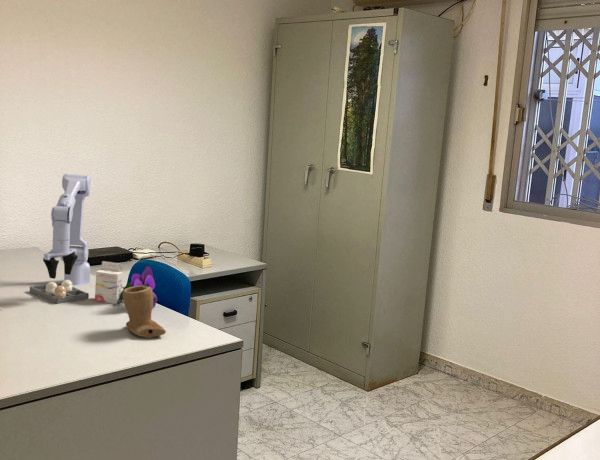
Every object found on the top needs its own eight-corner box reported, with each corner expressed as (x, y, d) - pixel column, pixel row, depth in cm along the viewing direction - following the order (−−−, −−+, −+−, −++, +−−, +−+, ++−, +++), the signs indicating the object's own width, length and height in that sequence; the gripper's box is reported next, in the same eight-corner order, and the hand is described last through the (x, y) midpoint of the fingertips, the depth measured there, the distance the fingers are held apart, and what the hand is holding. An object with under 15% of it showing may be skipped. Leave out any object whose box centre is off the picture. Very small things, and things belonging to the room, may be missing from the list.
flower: (115, 323, 235) (144, 312, 230) (100, 284, 235) (129, 272, 230) (138, 313, 248) (166, 302, 244) (123, 276, 249) (151, 265, 244)
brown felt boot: (116, 326, 216) (118, 282, 213) (151, 323, 222) (153, 280, 220) (129, 341, 203) (131, 295, 201) (166, 338, 209) (169, 292, 207)
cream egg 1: (53, 294, 243) (53, 280, 242) (59, 296, 241) (59, 282, 240) (43, 295, 240) (43, 281, 239) (49, 298, 238) (49, 283, 237)
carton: (61, 288, 254) (61, 282, 253) (88, 299, 242) (88, 293, 242) (29, 293, 244) (29, 286, 244) (56, 305, 232) (56, 298, 232)
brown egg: (59, 298, 239) (59, 283, 238) (68, 300, 238) (68, 285, 237) (51, 300, 236) (52, 285, 235) (60, 302, 234) (60, 287, 233)
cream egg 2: (68, 292, 248) (68, 278, 247) (74, 294, 246) (74, 280, 245) (58, 293, 245) (59, 279, 244) (64, 296, 242) (64, 281, 242)
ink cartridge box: (94, 302, 240) (95, 263, 237) (100, 298, 245) (101, 260, 242) (116, 305, 239) (118, 266, 236) (121, 301, 244) (123, 263, 241)
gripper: (66, 235, 242) (65, 270, 244) (37, 240, 228) (36, 277, 231) (82, 237, 239) (80, 273, 241) (53, 243, 226) (52, 281, 228)
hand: (60, 276), depth 236 cm, fingers open, 7 cm apart
